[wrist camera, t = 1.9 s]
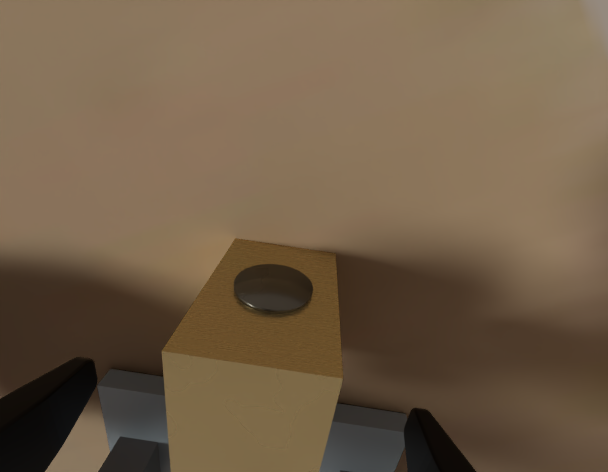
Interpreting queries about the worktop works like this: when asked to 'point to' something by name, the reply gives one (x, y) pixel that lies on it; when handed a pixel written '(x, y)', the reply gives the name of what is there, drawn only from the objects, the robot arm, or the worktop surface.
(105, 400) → the grey plate with pegs
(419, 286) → the worktop surface
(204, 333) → the tan block
